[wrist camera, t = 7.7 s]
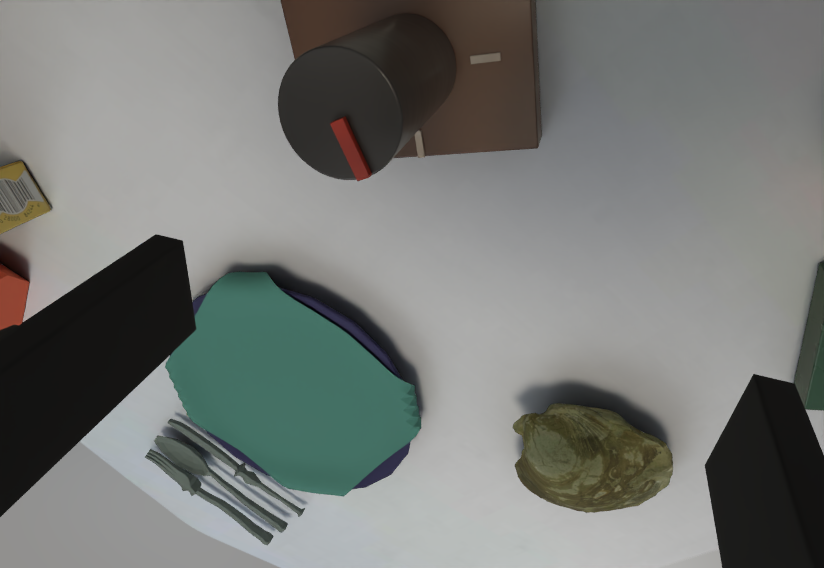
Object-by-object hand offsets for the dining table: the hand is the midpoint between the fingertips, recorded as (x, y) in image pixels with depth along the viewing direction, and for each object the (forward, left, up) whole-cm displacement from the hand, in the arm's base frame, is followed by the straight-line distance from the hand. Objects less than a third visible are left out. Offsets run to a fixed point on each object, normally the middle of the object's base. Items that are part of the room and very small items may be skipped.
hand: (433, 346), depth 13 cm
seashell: (-3, +23, -20) cm, 31 cm away
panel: (+5, -3, -20) cm, 21 cm away
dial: (+5, -3, -18) cm, 19 cm away
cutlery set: (+22, +23, -20) cm, 38 cm away
